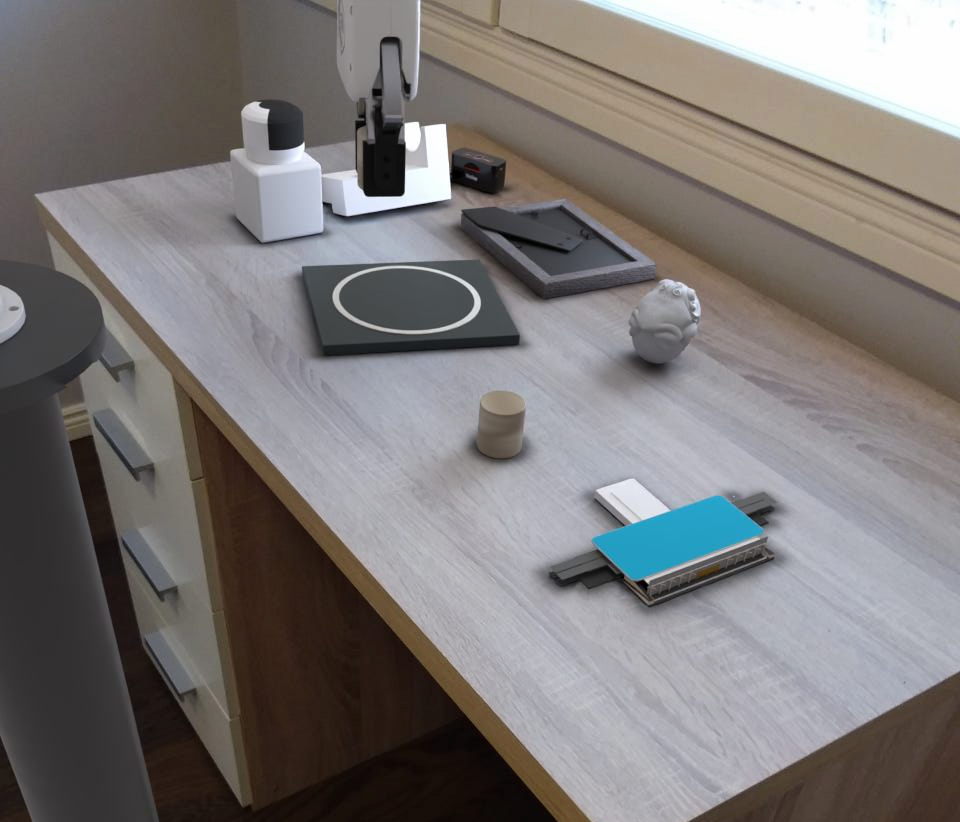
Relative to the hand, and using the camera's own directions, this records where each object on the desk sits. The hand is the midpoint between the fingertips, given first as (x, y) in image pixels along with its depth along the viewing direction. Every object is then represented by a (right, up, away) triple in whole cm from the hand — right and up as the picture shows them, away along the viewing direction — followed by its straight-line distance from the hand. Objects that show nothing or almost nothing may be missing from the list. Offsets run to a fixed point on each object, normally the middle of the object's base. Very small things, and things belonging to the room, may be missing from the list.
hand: (379, 182), depth 83 cm
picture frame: (+16, +5, +29) cm, 33 cm away
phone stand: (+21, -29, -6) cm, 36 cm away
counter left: (0, 0, 0) cm, 0 cm away
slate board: (+1, -5, +17) cm, 18 cm away
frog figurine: (+24, -11, +14) cm, 30 cm away
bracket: (-3, +13, +36) cm, 38 cm away
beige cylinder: (+9, -21, +1) cm, 23 cm away
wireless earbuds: (+6, +17, +41) cm, 45 cm away
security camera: (-13, +8, +29) cm, 33 cm away
